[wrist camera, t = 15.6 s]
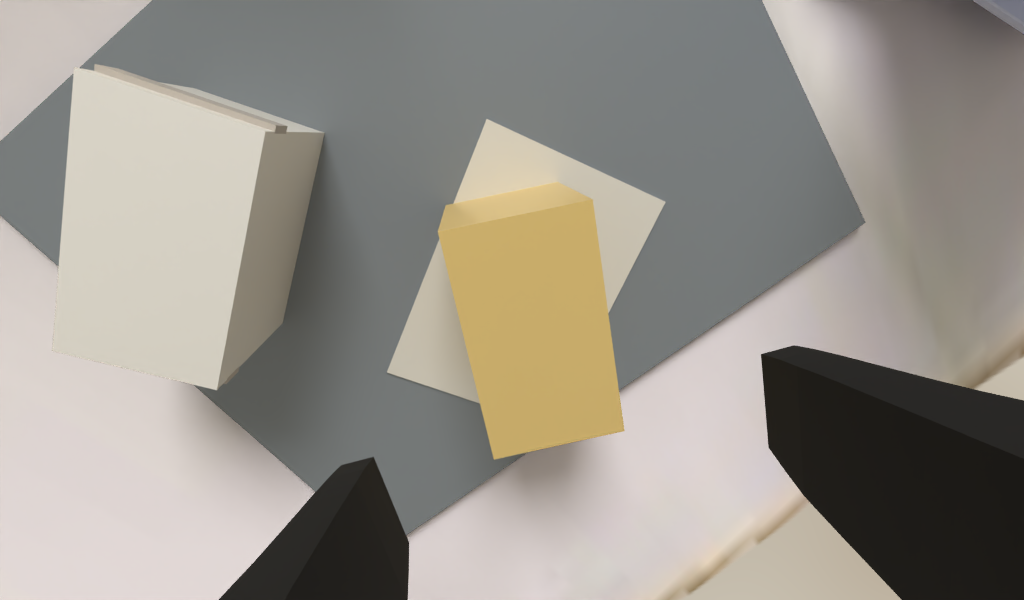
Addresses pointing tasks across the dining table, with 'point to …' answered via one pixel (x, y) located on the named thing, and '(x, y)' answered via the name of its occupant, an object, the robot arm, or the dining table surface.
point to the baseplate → (476, 192)
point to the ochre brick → (534, 316)
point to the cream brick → (177, 226)
